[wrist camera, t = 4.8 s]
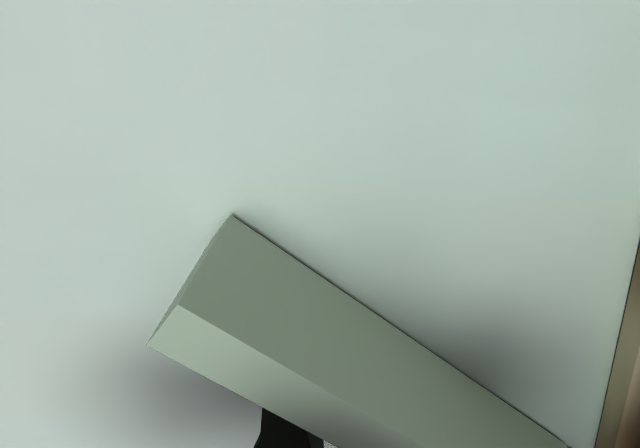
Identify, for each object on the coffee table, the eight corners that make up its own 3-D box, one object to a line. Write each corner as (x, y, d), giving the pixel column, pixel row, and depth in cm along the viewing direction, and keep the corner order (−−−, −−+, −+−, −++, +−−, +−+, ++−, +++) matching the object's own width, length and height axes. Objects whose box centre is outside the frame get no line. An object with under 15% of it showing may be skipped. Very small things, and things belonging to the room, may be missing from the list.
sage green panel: (584, 456, 13) (692, 603, 10) (562, 471, 14) (659, 618, 10) (230, 214, 9) (178, 304, 5) (209, 241, 9) (146, 345, 6)
